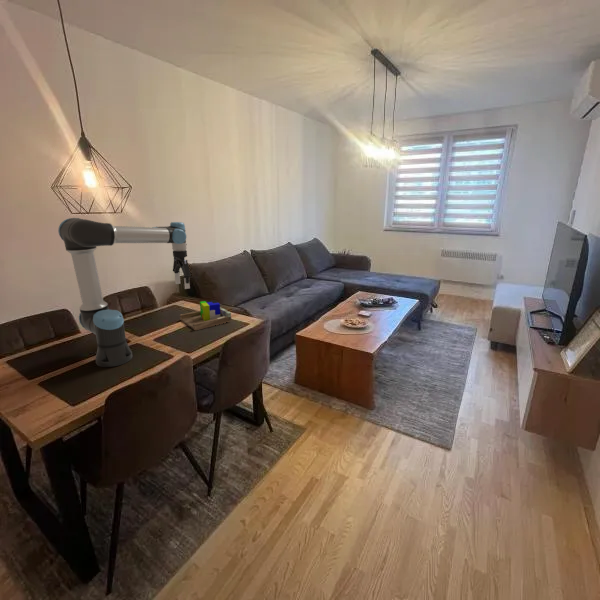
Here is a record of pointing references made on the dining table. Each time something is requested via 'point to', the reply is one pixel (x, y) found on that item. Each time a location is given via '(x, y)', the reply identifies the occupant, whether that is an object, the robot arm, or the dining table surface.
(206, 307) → the puzzle toy
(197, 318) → the board
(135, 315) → the dining table surface
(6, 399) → the dining table surface
